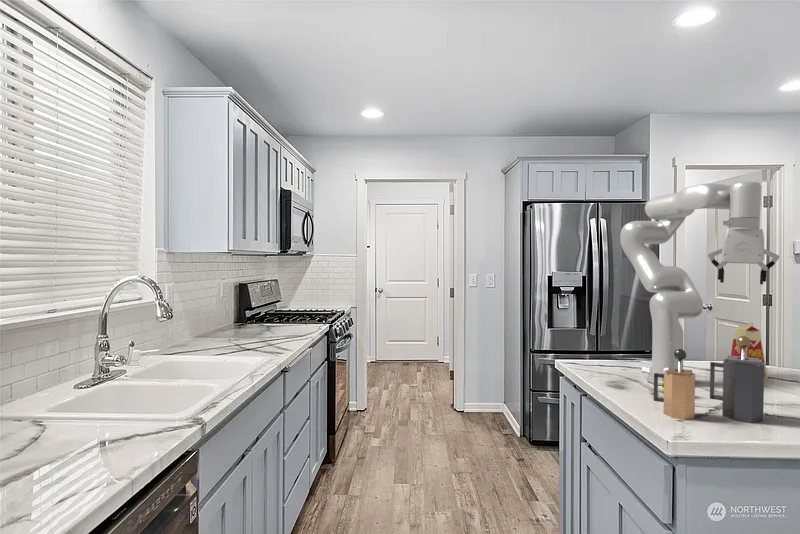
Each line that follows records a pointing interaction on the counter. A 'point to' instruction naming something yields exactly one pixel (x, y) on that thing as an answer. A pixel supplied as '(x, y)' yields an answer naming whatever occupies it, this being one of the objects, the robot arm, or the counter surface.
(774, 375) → the counter surface
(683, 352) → the grey ball handle
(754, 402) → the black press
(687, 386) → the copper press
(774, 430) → the counter surface
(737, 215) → the robot arm
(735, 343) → the milk carton
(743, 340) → the plunger rod
